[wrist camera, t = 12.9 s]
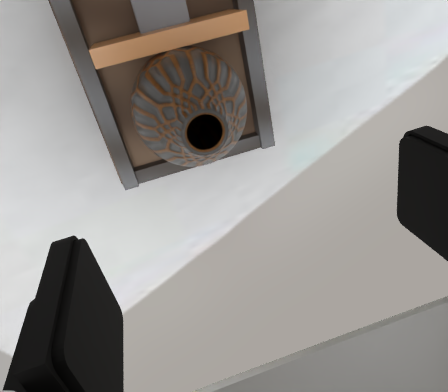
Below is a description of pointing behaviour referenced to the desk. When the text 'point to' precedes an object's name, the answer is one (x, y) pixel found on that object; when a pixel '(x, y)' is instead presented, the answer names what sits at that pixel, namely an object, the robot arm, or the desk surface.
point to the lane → (127, 71)
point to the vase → (188, 106)
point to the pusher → (166, 31)
